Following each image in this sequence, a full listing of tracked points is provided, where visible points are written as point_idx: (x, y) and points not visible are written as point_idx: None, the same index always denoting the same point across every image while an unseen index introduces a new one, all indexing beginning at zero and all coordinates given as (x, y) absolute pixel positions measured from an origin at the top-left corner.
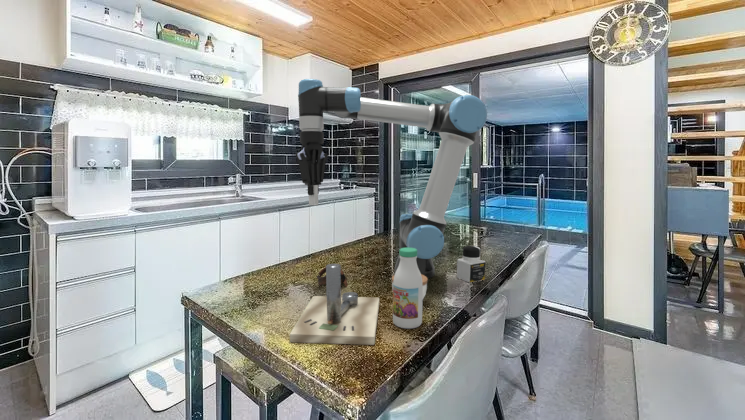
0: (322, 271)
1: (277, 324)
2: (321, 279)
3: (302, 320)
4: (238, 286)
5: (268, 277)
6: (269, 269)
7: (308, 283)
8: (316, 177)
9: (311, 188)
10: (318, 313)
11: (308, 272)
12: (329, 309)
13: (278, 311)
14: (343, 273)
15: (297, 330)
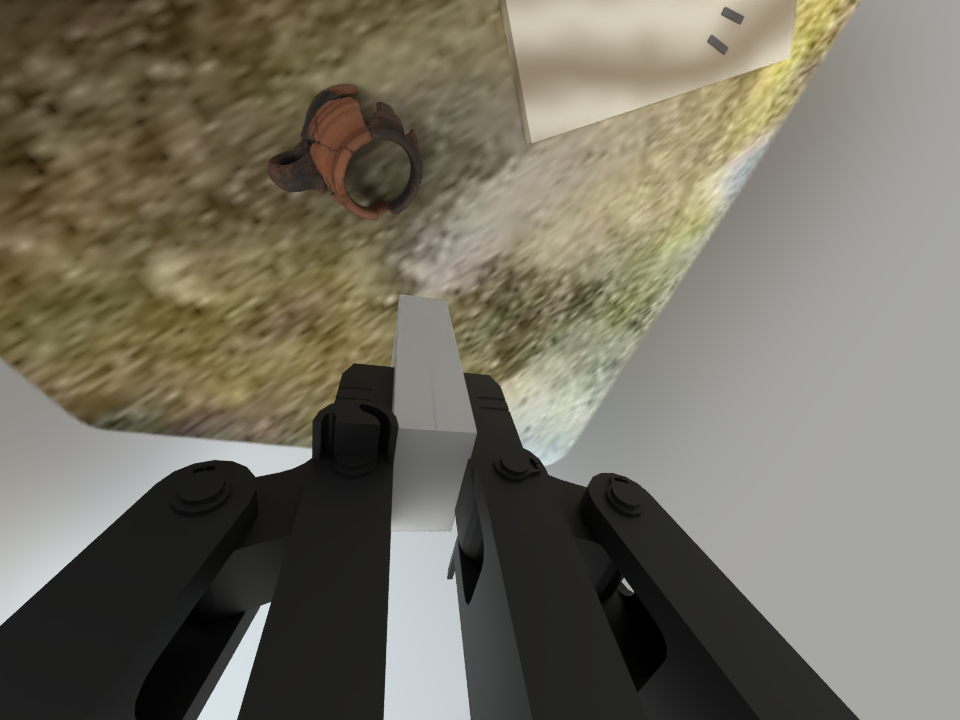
0: (364, 207)
1: (680, 161)
2: (419, 177)
3: (712, 68)
4: None
5: None
6: None
7: (381, 256)
8: (388, 583)
9: (505, 427)
10: (662, 39)
11: (282, 320)
12: None
13: (607, 210)
14: (334, 100)
15: (770, 46)
